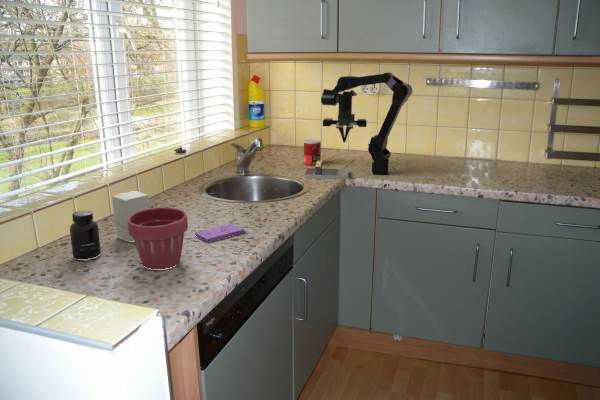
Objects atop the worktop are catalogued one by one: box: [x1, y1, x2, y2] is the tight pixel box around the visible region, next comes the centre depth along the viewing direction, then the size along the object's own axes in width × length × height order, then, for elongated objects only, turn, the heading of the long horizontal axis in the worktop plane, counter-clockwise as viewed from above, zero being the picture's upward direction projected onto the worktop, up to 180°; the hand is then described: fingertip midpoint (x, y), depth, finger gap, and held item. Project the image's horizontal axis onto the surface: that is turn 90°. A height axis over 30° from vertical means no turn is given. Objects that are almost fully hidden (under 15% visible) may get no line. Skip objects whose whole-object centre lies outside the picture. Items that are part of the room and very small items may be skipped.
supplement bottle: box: [69, 210, 102, 259], centre depth 131 cm, size 7×7×12 cm
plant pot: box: [128, 206, 189, 269], centre depth 126 cm, size 14×14×13 cm
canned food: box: [303, 138, 322, 167], centre depth 233 cm, size 8×8×11 cm
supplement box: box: [111, 190, 150, 241], centre depth 144 cm, size 7×7×13 cm
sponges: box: [194, 223, 245, 243], centre depth 148 cm, size 7×13×2 cm, turn 129°
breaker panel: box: [304, 159, 350, 180], centre depth 214 cm, size 18×11×5 cm, turn 83°
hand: (344, 142), depth 222 cm, fingers closed
